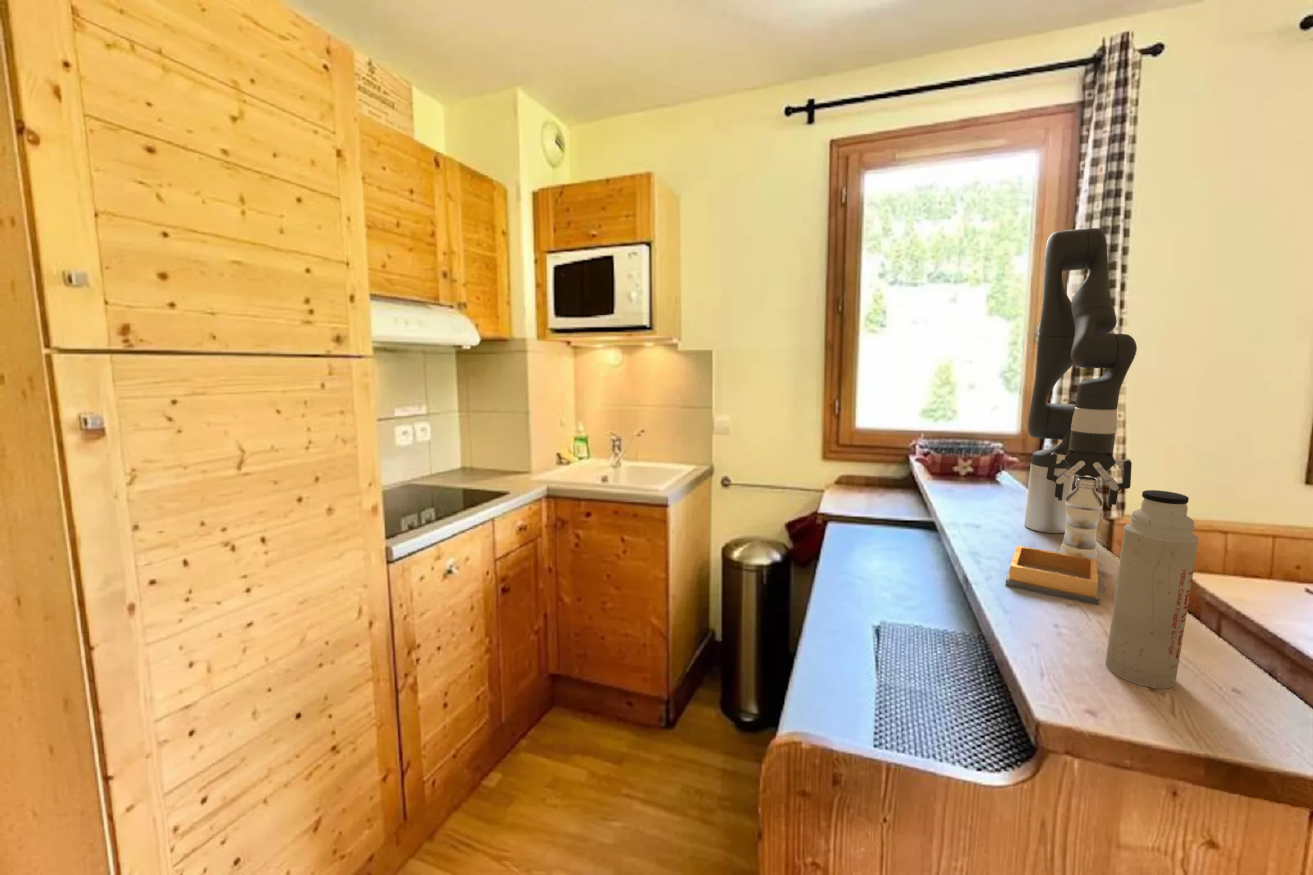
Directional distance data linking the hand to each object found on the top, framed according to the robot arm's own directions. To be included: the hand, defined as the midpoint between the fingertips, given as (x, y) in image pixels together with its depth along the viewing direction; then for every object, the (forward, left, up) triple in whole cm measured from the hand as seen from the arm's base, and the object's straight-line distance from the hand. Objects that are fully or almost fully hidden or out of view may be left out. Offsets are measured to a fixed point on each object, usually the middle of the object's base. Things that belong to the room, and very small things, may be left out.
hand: (1084, 503), depth 120 cm
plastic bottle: (0, 0, -15) cm, 15 cm away
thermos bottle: (+44, +8, -15) cm, 47 cm away
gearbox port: (+13, -4, -15) cm, 20 cm away
